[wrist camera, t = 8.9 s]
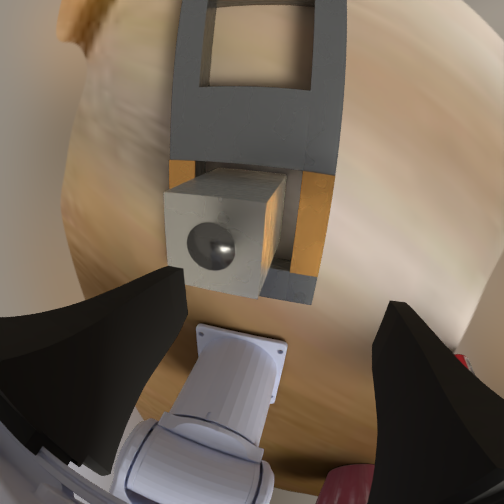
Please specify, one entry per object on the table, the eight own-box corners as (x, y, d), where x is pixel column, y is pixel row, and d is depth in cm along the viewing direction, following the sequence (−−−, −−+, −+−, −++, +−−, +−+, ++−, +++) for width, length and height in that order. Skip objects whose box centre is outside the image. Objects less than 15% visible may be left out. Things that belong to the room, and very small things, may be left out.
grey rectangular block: (279, 239, 18) (257, 300, 12) (217, 230, 19) (168, 281, 13) (287, 174, 16) (266, 203, 10) (219, 167, 17) (162, 192, 11)
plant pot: (391, 451, 28) (389, 524, 17) (396, 473, 32) (393, 528, 21) (302, 464, 33) (288, 530, 22) (325, 484, 37) (316, 536, 26)
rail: (312, 293, 19) (311, 306, 18) (183, 269, 21) (174, 279, 20) (344, -15, 10) (345, -26, 8) (195, -13, 11) (185, -21, 10)
